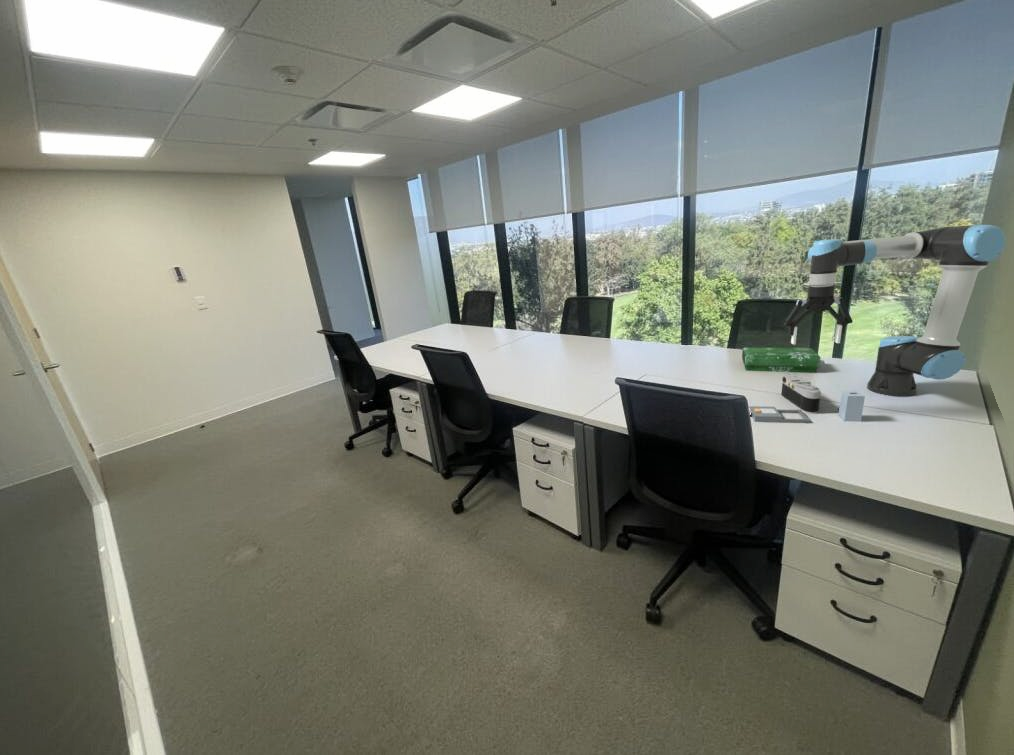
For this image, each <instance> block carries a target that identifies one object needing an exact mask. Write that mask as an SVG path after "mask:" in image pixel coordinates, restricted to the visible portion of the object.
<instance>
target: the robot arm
mask: <svg viewBox="0 0 1014 755" xmlns="http://www.w3.org/2000/svg"><path fill="white" fill-rule="evenodd" d="M1006 245H1007V236H1006V234H1005V232H1004V231H1003V230H1002V228H1000V227H999V226H996V225H993V224H972V225H971V224H970V225H956V226H942V227H938V228H932V229H926V230H920V231H914V232H913V231H912V232H908V233H906V234H904V235H901V236H890V237H879V238H870V239H869V238H868V239H860V240H848V241H841V239H839V238H833V239H831V238H830V239H821V240H816V241H814V243H813V245H812V246H811V247H810V248H809V250H808V252H807V259H808V261H809V262H810V272H809V278H808V285H809V286H808V289H807V298H806V299H805V300H804V299H803V300H802V299H796V303H795V306H794V307H793V309H792V310H791V312H790V313H789V315H788V316H787V317H786V319H785V320H784V323H783V324H784V325H785V326H786V327H789V328H788V329H789V330H788V335H789V336H791V339H790V344H792V345H793V346H794V345H796V344H797V335H798V334H797V333H798V327H797V325H798V324H800V322H801V321H802V320H803V319H805V317H807V316H808V315H809V314H811V313H812V312H813V313H818V312H826V311H827V312H828V313H829V314H830V315H831V317H833V318H834V319H835V320H836V322H838V323H837V324H836V327H835V333H834V334H835V335H834V343H836V344H841V337H842V335H844V334H845V332H846V331H845V330H846V326H848V325H849V324H853V322H854V321H853V319H852V317H851V314H850V313H849V311H848V309H847V307H846V304H845V298H844V297H841V296H839V297H836V298H834V296H835V290H836V289H835V288H836V287H835V284H836V281H837V273H838V267H845V266H855V265H863V264H868V263H870V262H872V261H873V260H879V259H891V258H903V259H906V260H912V259H919V260H921V259H923V260H924V259H925V260H933V261H939V264H938V267H939V268H940V269H941V270H942V272H941V277H940V279H939V283H938V286H937V290H936V293H935V296H934V299H933V302H932V306H931V308H930V309H931V310H930V311H929V316H928V318H927V322H926V326H925V328H924V332H923V335H921V336H920V337H919V336H914V335H913V336H912V335H911V336H909V335H900V336H899V335H897V336H894V335H893V336H886V337H883V338H881V340H880V343H879V345H878V351H877V354H876V355H877V357H876V363H875V370H874V372H873V374H872V375H871V377H870V379H869V380H868V381H867V383H866V389H867V390H868V391H870V392H872V393H875V394H878V395H882V394H883V395H882V396H887V395H888V396H889V397H911V396H914V395H916V394H917V384H916V380H915V377H914V374H915V375H918V376H921V377H924V378H927V379H933V380H947V379H949V378H951V377H953V376H954V375H956V374H958V373H959V372H960V371H961V370H962V368H963V367H964V365H965V363H966V357H965V354H964V353H963V352H962V351H961V350H960V347H961V343H960V342H959V341H958V340H957V337H958V334H959V331H960V328H961V326H962V323H963V319H964V316H965V314H966V311H967V308H968V305H969V301H970V298H971V296H972V292H973V289H974V288H975V287H974V286H975V283H976V280H977V278H978V274H979V272H980V271H981V270H983V269H985V268H986V267H988V265H989V262H990V261H993V260H995V259H996V258H998V257H999V255H1001V254H1002V253H1003V252H1004V250H1005V247H1006ZM834 303H835V304H836V305H837V306H838V307H839V310H840V312H841V314H842V316H843V318H842V317H841V315H839V314H838V313H837V311H836V310H835V309H834V308H833V306H832V305H833V304H834ZM805 304H806V307H805V308H804V309H803V311H802V312H800V310H801V308H802V307H803V306H804V305H805ZM799 312H800V314H798V313H799ZM797 314H798V315H797Z"/></svg>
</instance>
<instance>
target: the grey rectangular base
mask: <svg viewBox="0 0 1014 755" xmlns="http://www.w3.org/2000/svg"><path fill="white" fill-rule="evenodd" d="M749 408H750V412H751V416H750V417H752V419H753V421H754V422H755V423H788V424H789V423H791V424H792V423H793V424H810V423H811V419H810V418H809V417H808V416H807V415H806V414H805V412H803V411H802V410H800V409H777V408H776V407H775V406H760V405H759V406H753V405H752V406H748V409H749ZM750 412H749V413H750ZM782 414H798V415H799V416H800V417H801V418H783V416H782Z"/></svg>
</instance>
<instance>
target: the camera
mask: <svg viewBox="0 0 1014 755" xmlns="http://www.w3.org/2000/svg"><path fill="white" fill-rule="evenodd" d="M782 375H783V376H782V379H781V380H782V384H781V385H782V386H781V396H782V397H783V398H784V399H785V400H786V401H788V402H790V403H791V404H793V405H794V406H795V407H796V408H798V410H801V411H802V412H803V413H806V414H810V415H815V414H818V413H819V408H820V400H821V393H822V390H821V389H820V388H818V386H815V385H814V384H812V383H811V382H812V381H810V380H808V379H806V378H804V377H803V376H800V375H799V374H797V373H790V372H786V373H785V374H782Z"/></svg>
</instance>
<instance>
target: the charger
mask: <svg viewBox="0 0 1014 755" xmlns="http://www.w3.org/2000/svg"><path fill="white" fill-rule="evenodd" d="M865 398H866V396H865V395H864V394H863V393H861V392H860V391H858V390H845V391H844V390H843V391H841V395H840V402H839V409H838V417H839V418H840V419H841V420H842V421H844V422H856V423H857V422H861V421H862V416H863V410H864V404H865Z"/></svg>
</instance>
